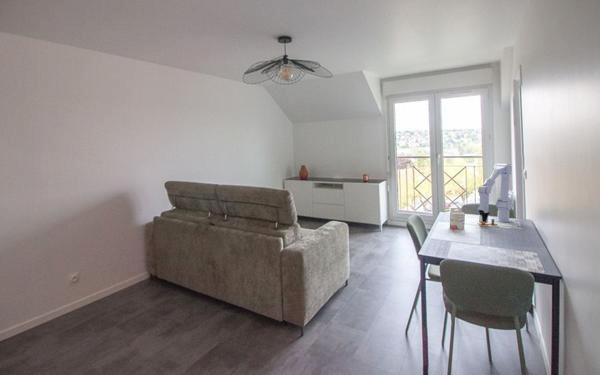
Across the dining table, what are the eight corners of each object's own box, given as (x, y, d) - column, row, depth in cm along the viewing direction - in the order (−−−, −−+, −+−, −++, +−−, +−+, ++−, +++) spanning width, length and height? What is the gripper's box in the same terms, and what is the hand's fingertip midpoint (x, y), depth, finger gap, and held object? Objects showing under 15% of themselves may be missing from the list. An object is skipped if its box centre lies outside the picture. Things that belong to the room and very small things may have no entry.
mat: (495, 223, 242) (495, 222, 242) (509, 223, 239) (509, 223, 239) (498, 226, 234) (498, 225, 234) (513, 226, 231) (513, 226, 231)
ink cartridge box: (452, 229, 230) (452, 209, 229) (449, 227, 235) (449, 207, 233) (464, 229, 230) (465, 209, 228) (461, 227, 234) (462, 207, 233)
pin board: (477, 223, 243) (477, 217, 243) (495, 224, 239) (496, 217, 239) (480, 227, 234) (480, 220, 233) (499, 227, 230) (499, 220, 229)
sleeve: (483, 221, 241) (483, 214, 240) (489, 223, 235) (489, 216, 234) (477, 221, 240) (477, 215, 239) (483, 223, 234) (483, 216, 233)
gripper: (476, 200, 244) (475, 218, 245) (479, 203, 230) (479, 222, 232) (486, 200, 241) (486, 218, 243) (491, 204, 228) (490, 223, 229)
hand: (483, 220), depth 237 cm, fingers closed on sleeve, 5 cm apart
